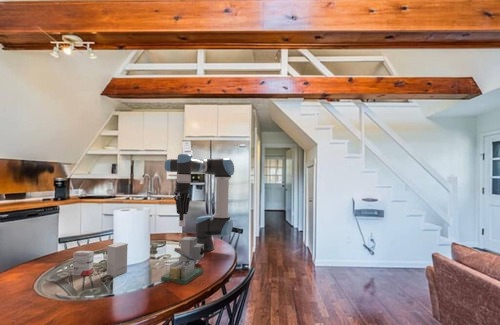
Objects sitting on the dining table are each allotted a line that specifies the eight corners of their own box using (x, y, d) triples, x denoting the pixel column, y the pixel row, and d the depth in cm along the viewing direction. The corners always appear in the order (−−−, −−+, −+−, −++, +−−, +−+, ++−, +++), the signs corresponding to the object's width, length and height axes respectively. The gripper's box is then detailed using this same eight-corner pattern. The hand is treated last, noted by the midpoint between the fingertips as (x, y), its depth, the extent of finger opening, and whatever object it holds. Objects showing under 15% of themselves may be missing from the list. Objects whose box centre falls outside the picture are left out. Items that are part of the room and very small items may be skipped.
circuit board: (180, 269, 161) (181, 256, 161) (203, 272, 156) (203, 259, 157) (161, 280, 144) (161, 266, 144) (185, 284, 139) (185, 269, 140)
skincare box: (119, 270, 158) (120, 241, 159) (127, 272, 155) (128, 243, 156) (105, 275, 151) (106, 245, 151) (114, 277, 148) (115, 246, 148)
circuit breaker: (201, 266, 166) (202, 240, 166) (178, 264, 169) (179, 239, 169) (206, 262, 173) (206, 237, 174) (184, 261, 176) (184, 236, 177)
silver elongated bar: (187, 259, 158) (188, 256, 159) (193, 260, 157) (194, 257, 158) (173, 251, 145) (174, 247, 146) (179, 252, 144) (181, 248, 145)
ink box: (93, 272, 154) (94, 250, 155) (88, 275, 149) (89, 252, 150) (77, 272, 154) (78, 250, 155) (72, 275, 149) (72, 252, 150)
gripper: (184, 182, 164) (182, 224, 162) (170, 182, 151) (169, 227, 150) (195, 182, 161) (194, 224, 160) (182, 182, 149) (181, 228, 147)
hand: (182, 226), depth 155 cm, fingers closed
